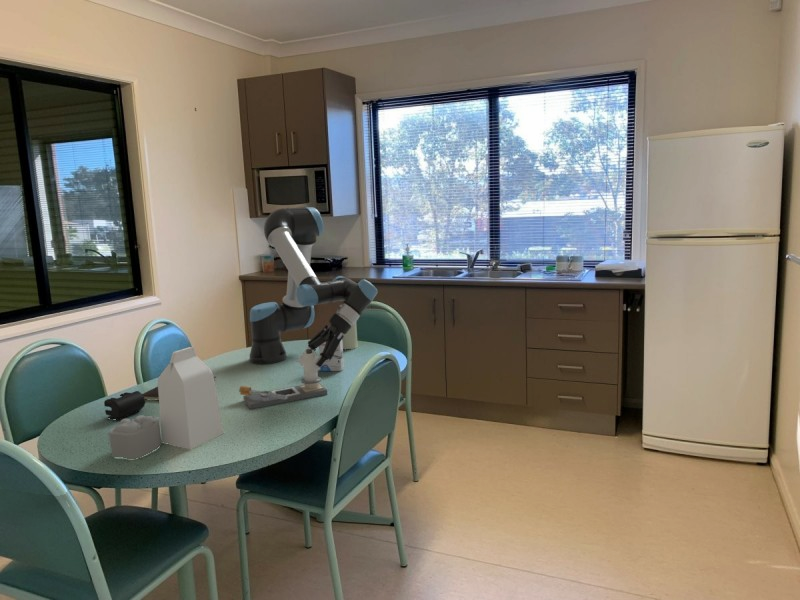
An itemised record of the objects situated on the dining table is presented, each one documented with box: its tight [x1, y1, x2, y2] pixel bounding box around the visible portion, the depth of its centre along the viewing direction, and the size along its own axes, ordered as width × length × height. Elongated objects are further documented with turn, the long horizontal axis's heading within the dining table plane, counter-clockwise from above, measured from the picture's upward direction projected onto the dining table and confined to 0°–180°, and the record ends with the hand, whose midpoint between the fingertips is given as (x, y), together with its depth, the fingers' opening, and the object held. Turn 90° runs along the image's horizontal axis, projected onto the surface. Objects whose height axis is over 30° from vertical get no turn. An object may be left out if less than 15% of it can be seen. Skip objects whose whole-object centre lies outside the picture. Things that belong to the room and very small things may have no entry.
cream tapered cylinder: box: [341, 321, 359, 351], centre depth 261 cm, size 9×9×12 cm
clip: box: [238, 385, 288, 400], centre depth 194 cm, size 3×20×3 cm, turn 60°
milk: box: [157, 346, 224, 450], centre depth 167 cm, size 12×12×26 cm
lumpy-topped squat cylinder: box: [108, 414, 162, 459], centre depth 162 cm, size 10×13×9 cm
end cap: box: [103, 390, 146, 421], centre depth 190 cm, size 10×7×7 cm
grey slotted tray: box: [243, 382, 328, 410], centre depth 200 cm, size 10×26×3 cm, turn 115°
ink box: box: [318, 340, 345, 372], centre depth 228 cm, size 9×5×12 cm, turn 84°
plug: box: [300, 348, 322, 389], centre depth 202 cm, size 7×7×13 cm
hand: (304, 368), depth 201 cm, fingers open, 13 cm apart
